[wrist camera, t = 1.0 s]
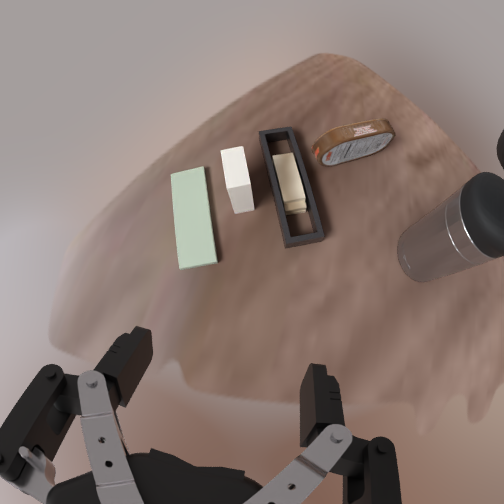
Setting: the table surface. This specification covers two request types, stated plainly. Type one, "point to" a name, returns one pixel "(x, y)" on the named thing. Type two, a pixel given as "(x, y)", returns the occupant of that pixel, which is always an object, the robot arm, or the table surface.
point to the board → (192, 219)
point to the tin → (352, 141)
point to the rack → (310, 202)
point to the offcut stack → (289, 184)
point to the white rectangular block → (237, 179)
